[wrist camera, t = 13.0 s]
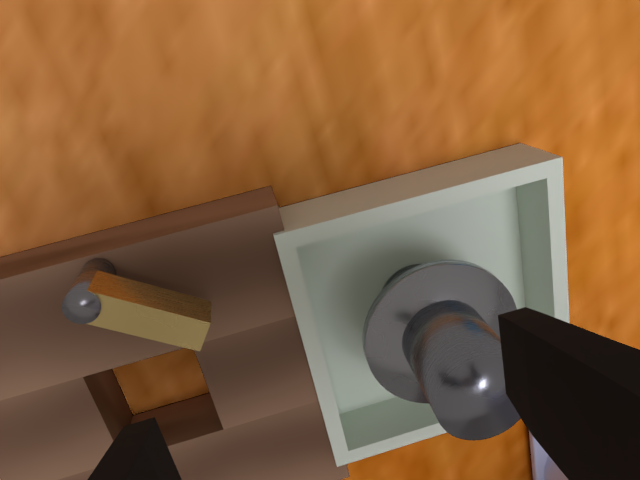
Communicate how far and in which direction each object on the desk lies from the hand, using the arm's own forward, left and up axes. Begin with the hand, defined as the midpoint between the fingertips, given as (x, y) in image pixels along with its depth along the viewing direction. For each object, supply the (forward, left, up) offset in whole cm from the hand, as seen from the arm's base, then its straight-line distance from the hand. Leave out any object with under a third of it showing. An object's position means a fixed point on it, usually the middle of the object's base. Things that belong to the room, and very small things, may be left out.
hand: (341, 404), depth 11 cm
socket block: (-4, +6, -10) cm, 12 cm away
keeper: (+1, +5, -8) cm, 9 cm away
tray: (-4, -5, -10) cm, 12 cm away
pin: (-4, -5, -10) cm, 11 cm away
